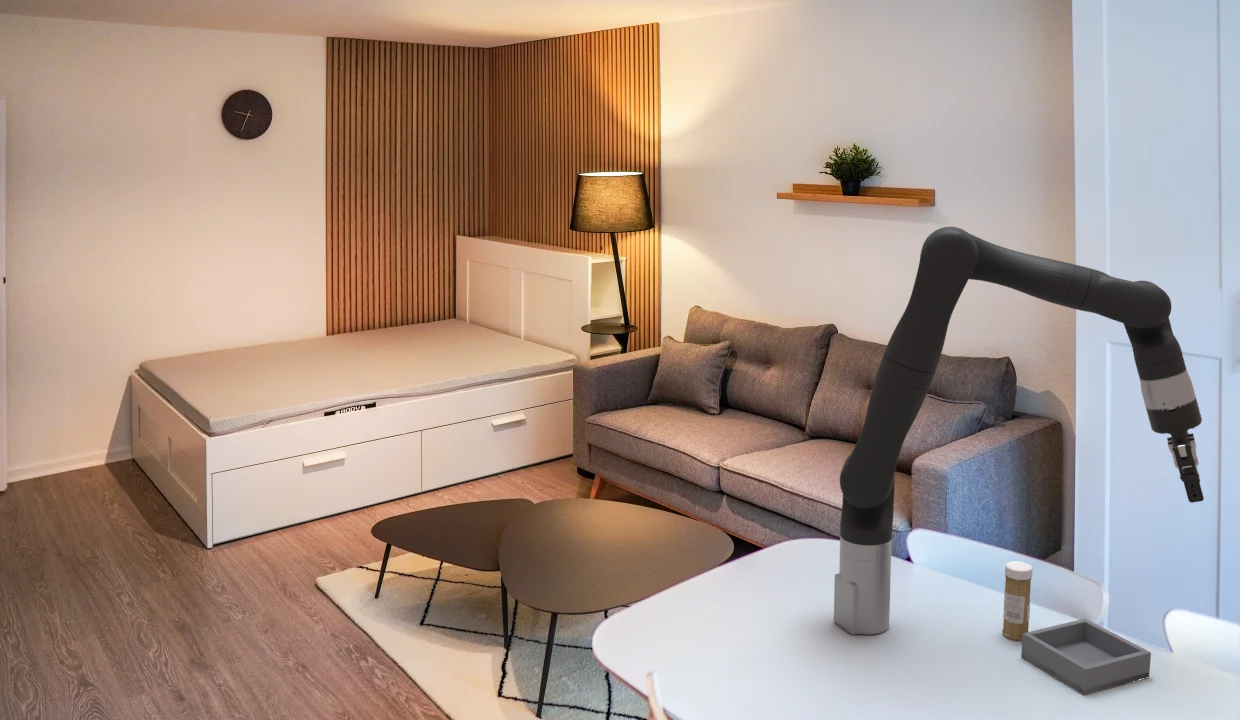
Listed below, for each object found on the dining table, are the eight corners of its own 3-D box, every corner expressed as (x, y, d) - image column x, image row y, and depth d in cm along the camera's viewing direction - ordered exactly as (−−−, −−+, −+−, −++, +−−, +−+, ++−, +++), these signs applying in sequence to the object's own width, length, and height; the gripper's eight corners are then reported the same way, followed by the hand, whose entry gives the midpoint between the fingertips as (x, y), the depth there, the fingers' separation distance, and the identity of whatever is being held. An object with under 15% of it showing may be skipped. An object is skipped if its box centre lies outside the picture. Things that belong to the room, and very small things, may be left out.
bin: (1083, 695, 169) (1085, 669, 168) (1021, 657, 182) (1022, 633, 181) (1149, 677, 174) (1151, 652, 173) (1083, 642, 187) (1085, 618, 186)
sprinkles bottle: (1033, 636, 189) (1038, 566, 186) (1018, 643, 187) (1022, 572, 184) (1012, 627, 193) (1015, 558, 190) (996, 634, 190) (999, 564, 188)
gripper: (1144, 393, 180) (1168, 481, 182) (1145, 416, 168) (1171, 511, 169) (1192, 383, 177) (1216, 474, 178) (1198, 406, 164) (1224, 503, 166)
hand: (1195, 492), depth 174 cm, fingers open, 8 cm apart
